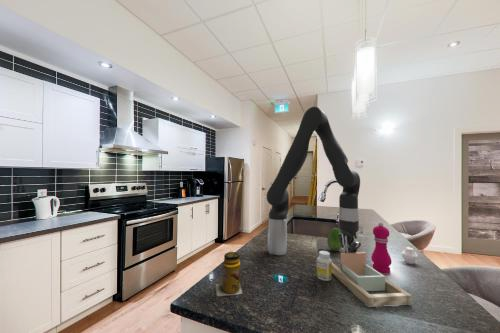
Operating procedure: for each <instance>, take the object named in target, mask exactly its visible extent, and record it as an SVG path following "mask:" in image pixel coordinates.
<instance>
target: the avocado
mask: <svg viewBox="0 0 500 333" xmlns="http://www.w3.org/2000/svg"><path fill="white" fill-rule="evenodd" d="M338 234H341V230H340V229H339V227H338V228H337V227H333V228H332V229H331V230H330V232H329V233H328V236H327V241H326V242H327V245H328V248H329V249H330V250H332V251H333V252H339V251H341V250H342V249H343V248H342V246H341V243H340V240H339V237H338Z"/></svg>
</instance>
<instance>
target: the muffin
mask: <svg viewBox="0 0 500 333" xmlns="http://www.w3.org/2000/svg"><path fill="white" fill-rule="evenodd" d="M401 256H402V258H403V260H404V262H405V263H406V264H409V265H415V263H416V262H417V260H418V259H419V255H418V253H416V250H415V249H414V248H412V247H409V246H408V247H405V248H404V249H403V251H401Z"/></svg>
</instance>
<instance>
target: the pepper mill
mask: <svg viewBox="0 0 500 333" xmlns="http://www.w3.org/2000/svg"><path fill="white" fill-rule="evenodd" d="M377 224H378V225H376V226H374V227H373V229H372V234H373V235H374V237H373V238H374V239H373V240H374V241H375V242H374V243H375V247H374V250H373V251H372V254H371V255H370V257H371V258H370V259H371V261H372V268H373V269H375V270H376V271H378V272H379V273H381V274H383V275H384V274H385V275H386V274H387V275H388V274H390V273H391V267H390V266H391V264H392V262H393V261H392V258H391V255H390V254H389V252H388V247H387V245H388V243H389V239H388V238H389V236H390V231H389V230H390V229H388V227H386V226H384V223H383V222H378V223H377Z"/></svg>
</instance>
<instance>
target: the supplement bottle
mask: <svg viewBox="0 0 500 333" xmlns="http://www.w3.org/2000/svg"><path fill="white" fill-rule="evenodd" d="M318 255H319V256H318V257H317V259H316V272H317V274H316V276H317V278H318V279H319V280H321V281H326V282H327V281H329V282H330V281H331V280H332V278H333V277H332V275H333V273H332V263H333V260H332V259H331V252H329V251H326V250H319V252H318Z"/></svg>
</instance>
